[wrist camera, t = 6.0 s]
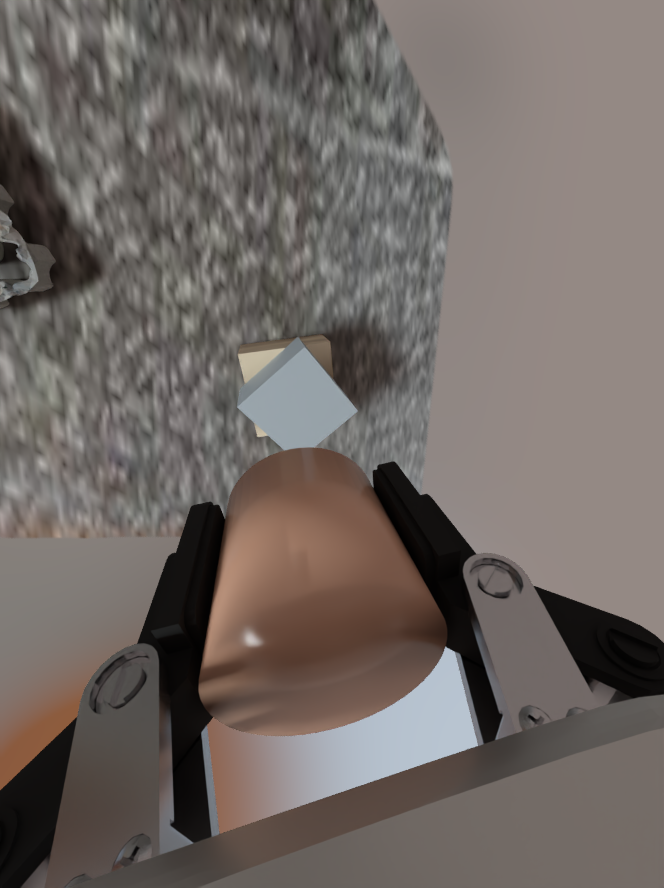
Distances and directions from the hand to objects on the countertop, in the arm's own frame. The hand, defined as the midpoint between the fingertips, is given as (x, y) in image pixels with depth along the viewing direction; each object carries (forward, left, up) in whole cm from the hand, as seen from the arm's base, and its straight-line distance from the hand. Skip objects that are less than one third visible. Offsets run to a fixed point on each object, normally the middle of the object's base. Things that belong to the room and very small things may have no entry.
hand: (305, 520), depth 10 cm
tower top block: (+1, +1, -16) cm, 16 cm away
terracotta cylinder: (0, 0, -1) cm, 1 cm away
